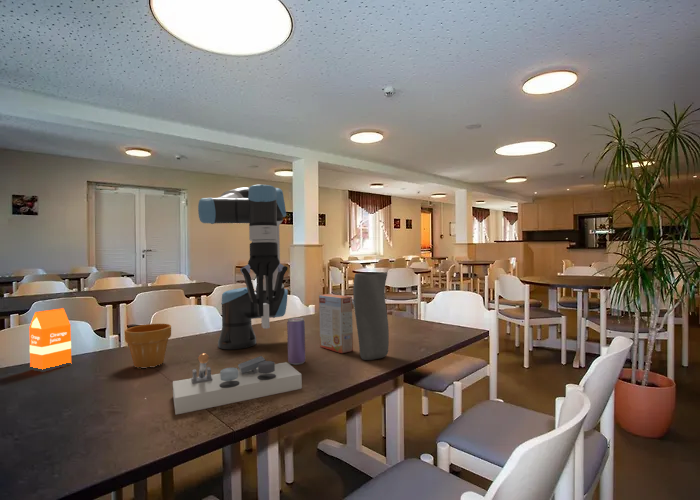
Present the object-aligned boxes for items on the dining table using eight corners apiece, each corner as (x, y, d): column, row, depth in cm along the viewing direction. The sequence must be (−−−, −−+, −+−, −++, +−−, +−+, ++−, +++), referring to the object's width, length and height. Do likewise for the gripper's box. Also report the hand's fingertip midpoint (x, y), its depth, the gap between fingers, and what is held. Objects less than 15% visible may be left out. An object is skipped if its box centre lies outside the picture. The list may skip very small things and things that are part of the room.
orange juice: (71, 365, 130) (70, 308, 130) (42, 373, 122) (41, 312, 122) (59, 362, 133) (57, 307, 133) (29, 370, 125) (28, 311, 125)
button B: (219, 376, 98) (219, 369, 98) (236, 373, 100) (236, 366, 100) (221, 382, 94) (221, 374, 94) (239, 378, 96) (239, 371, 96)
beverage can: (302, 365, 124) (301, 320, 124) (285, 364, 125) (284, 320, 125) (307, 360, 130) (306, 317, 130) (291, 359, 131) (290, 317, 131)
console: (173, 396, 100) (172, 370, 100) (287, 374, 115) (286, 352, 115) (175, 414, 88) (174, 385, 88) (301, 388, 103) (301, 363, 103)
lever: (196, 373, 100) (198, 351, 94) (206, 371, 101) (208, 350, 96) (197, 382, 99) (199, 360, 93) (207, 380, 100) (210, 358, 94)
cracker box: (354, 351, 140) (352, 296, 140) (341, 354, 136) (340, 297, 136) (331, 344, 151) (330, 293, 151) (319, 347, 147) (318, 294, 147)
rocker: (238, 369, 107) (237, 364, 107) (262, 360, 110) (261, 355, 110) (242, 373, 103) (241, 368, 103) (266, 364, 106) (265, 359, 106)
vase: (364, 364, 123) (362, 274, 123) (349, 355, 134) (347, 273, 134) (396, 359, 128) (394, 273, 128) (379, 351, 139) (377, 271, 139)
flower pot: (178, 363, 129) (177, 326, 129) (133, 374, 118) (132, 334, 118) (163, 356, 138) (162, 321, 138) (120, 365, 128) (119, 328, 128)
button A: (256, 369, 103) (256, 362, 103) (272, 367, 105) (272, 360, 105) (260, 374, 99) (260, 367, 99) (276, 371, 101) (276, 364, 101)
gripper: (242, 241, 95) (244, 333, 95) (290, 241, 101) (292, 327, 101) (236, 242, 102) (238, 327, 102) (282, 242, 108) (284, 322, 108)
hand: (265, 327), depth 102 cm, fingers closed
